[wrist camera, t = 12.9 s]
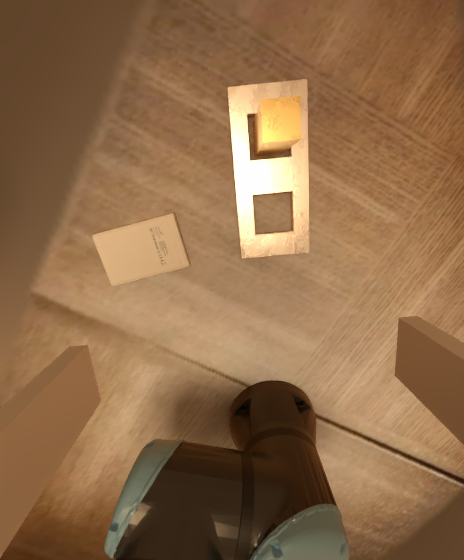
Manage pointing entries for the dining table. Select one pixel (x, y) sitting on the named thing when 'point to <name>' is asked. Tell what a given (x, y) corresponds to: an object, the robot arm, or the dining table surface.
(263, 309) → the dining table surface
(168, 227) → the external hard drive
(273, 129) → the brass peg
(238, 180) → the rail plate
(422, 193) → the dining table surface
